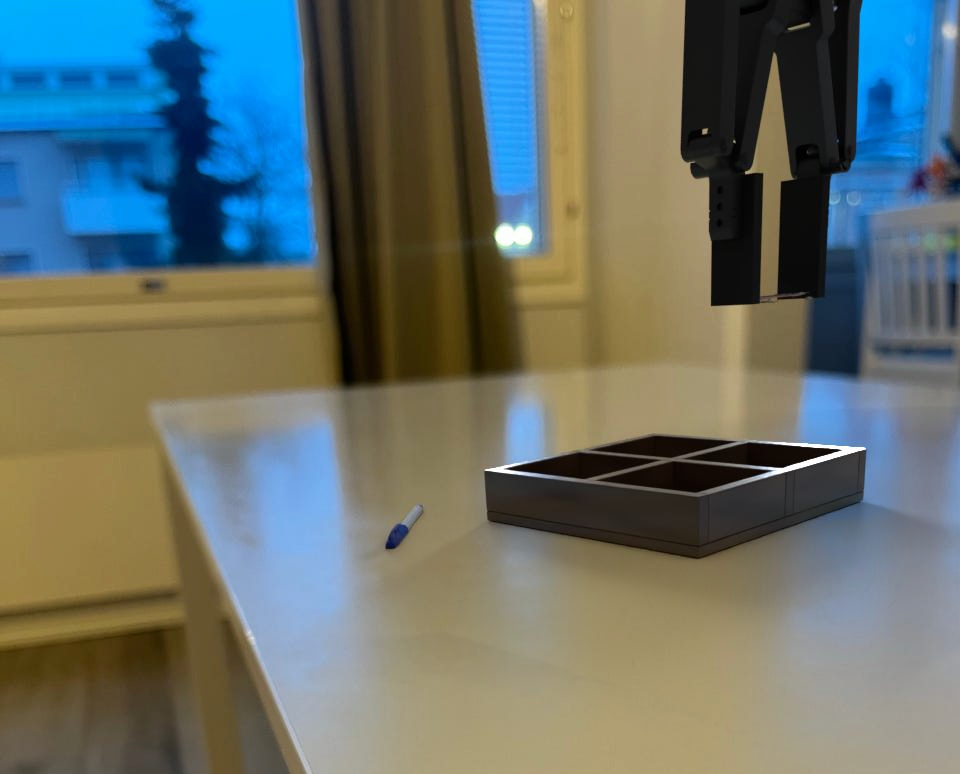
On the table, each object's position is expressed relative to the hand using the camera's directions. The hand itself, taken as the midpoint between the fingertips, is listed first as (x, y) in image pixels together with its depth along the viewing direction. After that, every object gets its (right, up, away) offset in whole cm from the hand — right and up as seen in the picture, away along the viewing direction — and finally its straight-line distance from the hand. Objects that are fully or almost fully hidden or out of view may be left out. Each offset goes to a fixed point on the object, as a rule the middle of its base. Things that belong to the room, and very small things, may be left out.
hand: (768, 300), depth 57 cm
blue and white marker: (-21, -13, +4) cm, 25 cm away
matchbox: (0, 0, 0) cm, 0 cm away
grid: (-5, -12, +3) cm, 13 cm away
